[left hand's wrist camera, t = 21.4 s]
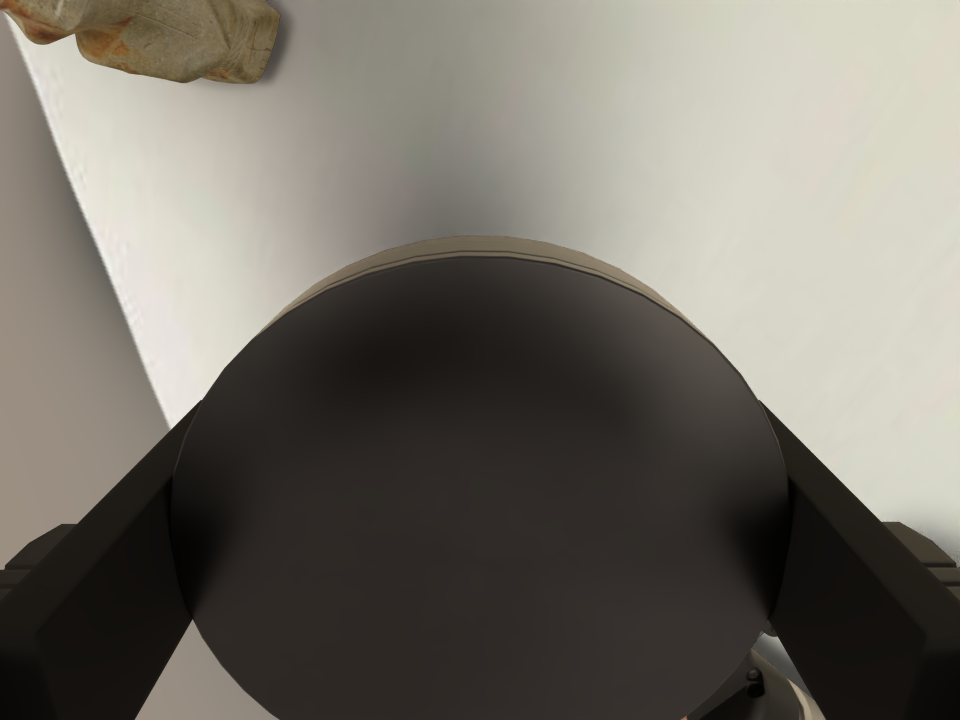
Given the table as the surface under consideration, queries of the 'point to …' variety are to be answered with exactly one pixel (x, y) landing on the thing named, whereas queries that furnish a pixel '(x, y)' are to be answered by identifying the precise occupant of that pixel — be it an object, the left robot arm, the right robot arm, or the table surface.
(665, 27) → the table surface
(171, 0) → the sculpture
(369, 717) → the lid
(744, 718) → the right robot arm
